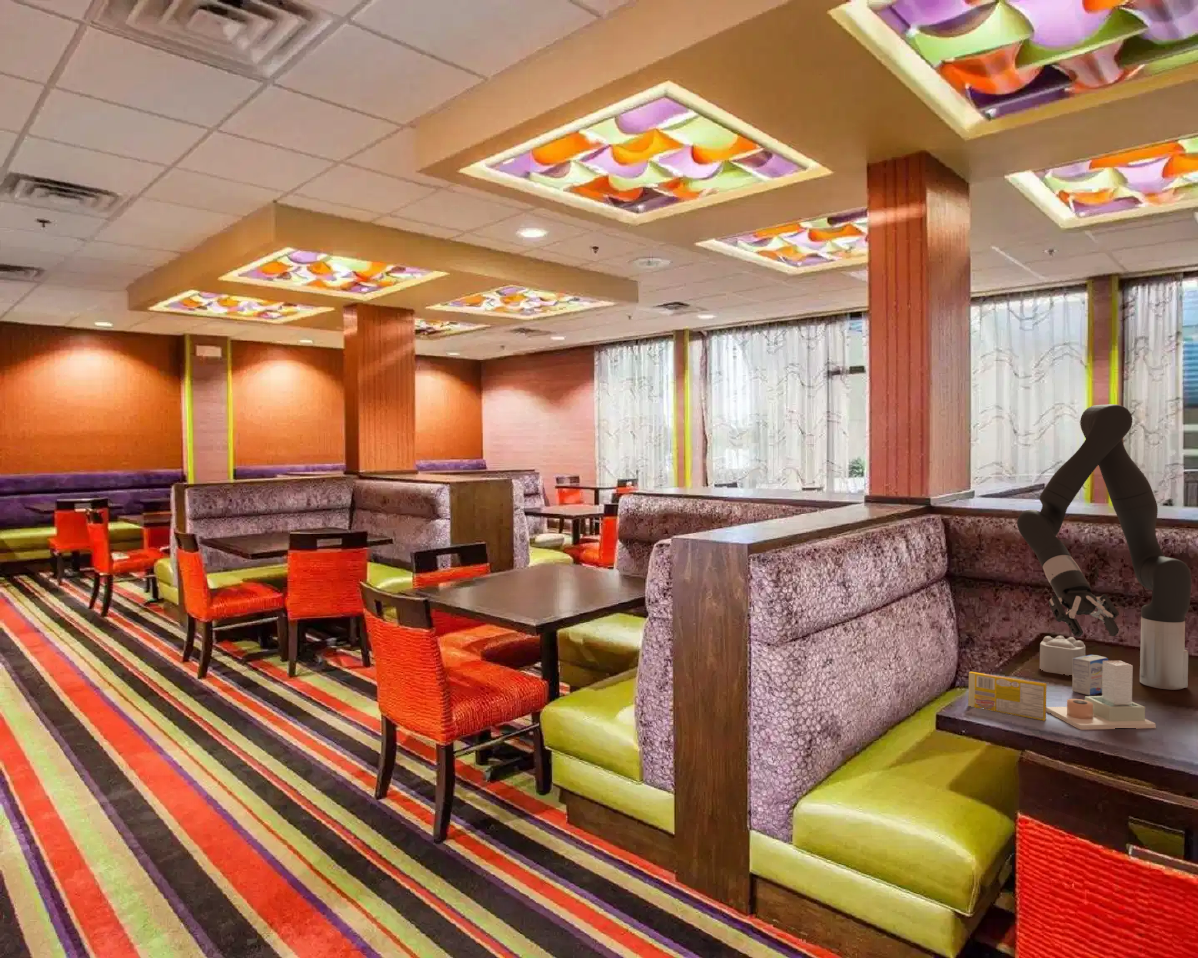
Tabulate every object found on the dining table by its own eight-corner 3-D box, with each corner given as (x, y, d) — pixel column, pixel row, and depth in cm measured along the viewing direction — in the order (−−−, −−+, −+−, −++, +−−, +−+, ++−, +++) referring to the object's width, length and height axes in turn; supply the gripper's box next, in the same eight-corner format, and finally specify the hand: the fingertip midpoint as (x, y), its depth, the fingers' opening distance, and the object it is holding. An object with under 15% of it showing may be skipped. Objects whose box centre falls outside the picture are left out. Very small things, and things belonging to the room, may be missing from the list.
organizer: (1116, 709, 182) (1116, 692, 182) (1155, 727, 170) (1155, 709, 170) (1045, 711, 181) (1046, 693, 181) (1080, 729, 169) (1080, 711, 169)
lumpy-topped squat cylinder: (1036, 670, 215) (1036, 639, 215) (1047, 660, 225) (1047, 631, 225) (1079, 677, 208) (1080, 645, 208) (1089, 667, 218) (1089, 636, 218)
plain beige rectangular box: (1118, 712, 177) (1119, 660, 176) (1131, 718, 173) (1132, 665, 172) (1101, 712, 177) (1102, 660, 176) (1114, 718, 173) (1115, 665, 172)
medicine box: (1089, 696, 192) (1090, 661, 192) (1071, 691, 196) (1072, 657, 196) (1108, 691, 196) (1108, 657, 196) (1090, 686, 200) (1090, 653, 199)
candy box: (1046, 719, 176) (1047, 683, 176) (1044, 721, 174) (1045, 685, 174) (970, 704, 186) (970, 670, 186) (967, 706, 185) (968, 672, 185)
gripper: (1044, 569, 189) (1076, 626, 178) (1101, 568, 190) (1135, 625, 179) (1031, 587, 194) (1060, 644, 183) (1086, 586, 195) (1118, 642, 184)
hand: (1097, 634), depth 181 cm, fingers open, 8 cm apart
